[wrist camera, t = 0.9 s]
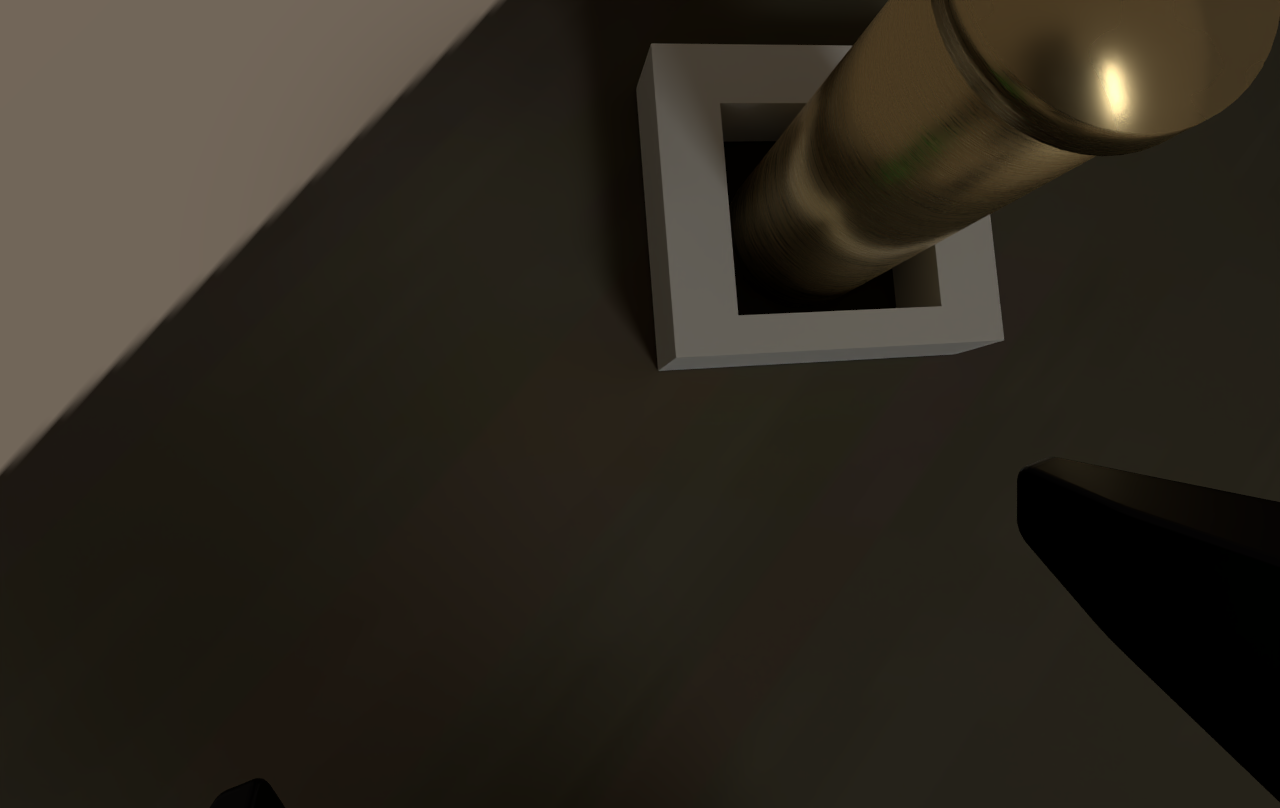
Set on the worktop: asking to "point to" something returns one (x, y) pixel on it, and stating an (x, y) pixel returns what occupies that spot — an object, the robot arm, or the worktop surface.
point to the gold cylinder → (976, 123)
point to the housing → (701, 232)
